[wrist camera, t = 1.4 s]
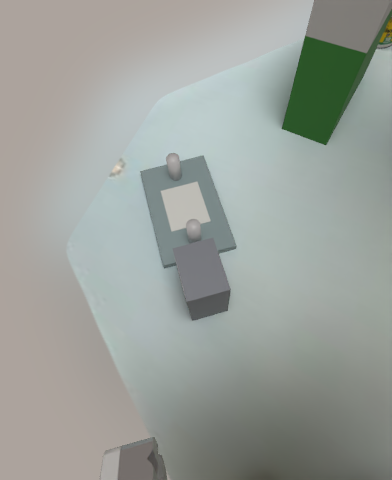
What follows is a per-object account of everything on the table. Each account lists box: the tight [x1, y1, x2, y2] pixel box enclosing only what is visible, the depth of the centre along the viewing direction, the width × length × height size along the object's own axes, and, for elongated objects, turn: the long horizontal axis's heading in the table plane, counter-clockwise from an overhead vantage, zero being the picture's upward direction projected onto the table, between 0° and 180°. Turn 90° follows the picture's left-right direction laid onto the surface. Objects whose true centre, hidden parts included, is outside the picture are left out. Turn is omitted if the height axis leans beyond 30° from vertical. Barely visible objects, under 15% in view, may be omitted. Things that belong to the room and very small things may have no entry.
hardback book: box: [282, 0, 392, 145], centre depth 43 cm, size 18×7×24 cm, turn 149°
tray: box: [140, 153, 236, 268], centre depth 44 cm, size 16×10×5 cm, turn 15°
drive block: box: [172, 238, 230, 320], centre depth 37 cm, size 6×5×9 cm
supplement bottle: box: [377, 16, 392, 48], centre depth 55 cm, size 5×5×10 cm
